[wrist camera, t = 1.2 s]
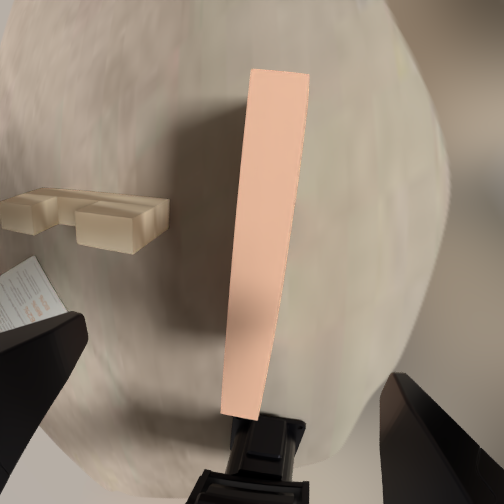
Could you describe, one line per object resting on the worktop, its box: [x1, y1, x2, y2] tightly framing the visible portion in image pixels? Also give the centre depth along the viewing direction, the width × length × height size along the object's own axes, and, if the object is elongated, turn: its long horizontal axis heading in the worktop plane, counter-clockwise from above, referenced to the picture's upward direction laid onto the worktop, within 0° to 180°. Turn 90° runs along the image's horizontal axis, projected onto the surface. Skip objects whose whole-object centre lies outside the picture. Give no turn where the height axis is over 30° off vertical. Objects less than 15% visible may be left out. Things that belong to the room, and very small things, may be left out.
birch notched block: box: [0, 188, 170, 255], centre depth 19 cm, size 2×12×5 cm, turn 85°
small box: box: [0, 256, 68, 333], centre depth 21 cm, size 8×6×10 cm
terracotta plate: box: [221, 69, 310, 421], centre depth 16 cm, size 16×2×8 cm, turn 174°
